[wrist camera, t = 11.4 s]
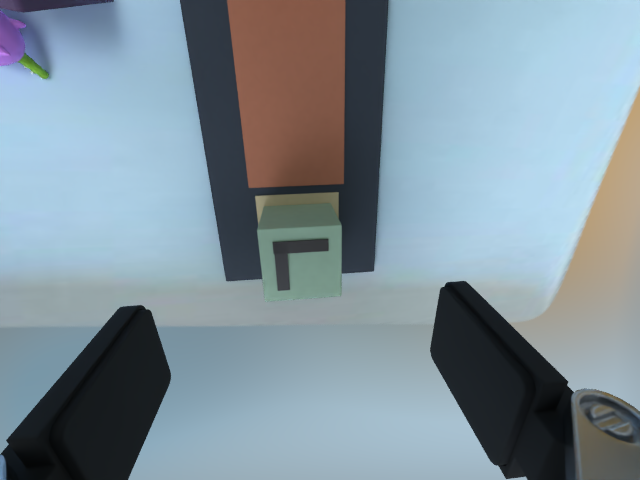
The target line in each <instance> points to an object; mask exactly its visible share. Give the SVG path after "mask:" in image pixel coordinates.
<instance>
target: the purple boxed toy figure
mask: <svg viewBox="0 0 640 480" xmlns="http://www.w3.org/2000/svg"><path fill="white" fill-rule="evenodd" d="M106 2H114V0H0V8H3V9H7V10H12V11H17V12H31V11H40V10H48V9H56V8H64V7H73V6H81V5H89V4H98V3H106ZM25 27H26V24H25V23H23V22H21V21H18V20H14V19H11V18H9V17H7V16H6V15H5V14H4V13H3V12H2V11H1V10H0V66H5V65H10V64H13V63H15V62H19V63H21V64H23V66H24V67H25V69H26V67H27V68H29V69H30V70H31V71H30V72H31V75H32V74H33V73H36V74H38V75H39V76H40V78H41V79H42V80H43V79H47V78H48V77H49V74H48V73H47V72H46V71H45V70H43V69H42V67H41V66H39V65H38V64H37V63H35V62H34V60H33V59H32V58H30V57H29V56H28V55H26V53H25V42H24V39H23V37H22V34H21V33H20V31H19V29H20V28H25Z"/></svg>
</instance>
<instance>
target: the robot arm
mask: <svg viewBox="0 0 640 480" xmlns="http://www.w3.org/2000/svg"><path fill="white" fill-rule="evenodd" d="M430 352H431V356H432V359H433V361H434V363H435V364H436V366H437V368H438V369H439V371H440V373H441V375H442V377H443V378H444V380H445V382H446V384H447V386H448V387H449V389H450V391H451V393H452V394H453V396H454V398H455V399H456V401H457V403H458V405H459V407H460V408H461V410H462V412H463V413H464V415H465V417H466V419H467V421H468V422H469V424H470V426H471V428H472V429H473V431H474V433H475V435H476V436H477V438H478V440H479V442H480V444H481V445H482V447H483V448H484V450H485V452H486V454H487V456H488V458H489V459H490V461H491V462H492V463H493V464H494V465H498V466H499V467H500V469H501V471H502V473H503V474H504V476H505V478H506V479H510V478H518V477H525V476H526V477H527V479H528V480H640V411H638V410H637V409H636V408H635V407H633V406H632V405H630V404H628V403H627V402H625V401H623V400H622V399H620V398H618V397H615V396H613V395H611V394H609V393H606V392H602V391H599V390H595V389H581V390H577V391H576V392H573V391H572V390H571V389H570V388H569V387H568V386H567V384H568V381H567V380H566V379H565V378H564V377H563V376H562V375H561V374H560V373H559V372H558V371H557V370H556V369H555V368H554V367H553V366H552V365H551V364H550V363H549V362H548V361H546V359H545V358H544V357H543V356H542V355H540V353H539V352H537V350H536V349H534V348H533V347H532V346H531V345H530V344H529V343H528V342H527V341H526V340H525V339H524V338H523V337H522V336H521V335H520V334H519V333H518V332H517V331H516V330H515V329H514V328H513V327H512V326H511V325H510V324H509V323H508V322H507V321H506V320H505V319H504V318H503V317H502V316H501V315H500V314H499V313H498V312H497V311H496V310H495V309H494V308H493V307H492V306H491V305H490V304H489V303H488V302H487V301H486V300H485V299H484V298H483V297H482V296H481V295H480V294H479V293H478V292H476V291H475V290H474V289H473V288H472V287H471V286H470V285H469V284H468V283H467V282H466V281H458V282H448V283H446V284H445V287H442V288H441V289H440V294H439V299H438V305H437V311H436V317H435V323H434V329H433V336H432V341H431V348H430ZM170 379H171V373H170V369H169V366H168V363H167V360H166V357H165V354H164V350H163V347H162V344H161V341H160V338H159V335H158V332H157V328H156V325H155V322H154V319H153V316H152V313H151V311H150V310H146V309H145V307H144V306H142V305H138V306H125V307H120V308H119V309H118V310H117V311H116V312H115V313H114V315H113V316H112V317H111V318H110V319H109V320H108V322H107V323H106V324H105V325H104V326H103V328H102V329H101V330H100V331H99V332H98V333H97V335H96V336H95V337H94V338H93V339H92V340H91V342H90V343H89V344H88V345H87V346H86V348H85V349H84V350H83V351H82V352H81V353H80V354H79V356H78V357H77V358H76V359H75V360H74V362H73V363H72V364H71V365H70V366H69V367H68V369H67V370H66V371H65V372H64V373H63V374H62V376H61V377H60V378H59V379H58V380H57V381H56V383H55V384H54V385H53V386H52V387H51V388H50V390H49V391H48V392H47V393H46V394H45V396H44V397H43V398H42V399H41V400H40V401H39V403H38V404H37V405H36V406H35V407H34V408H33V410H32V411H31V412H30V413H29V414H28V415H27V417H26V418H25V419H24V420H23V421H22V423H21V424H20V425H19V426H18V427H17V428H16V430H15V431H14V432H13V433H12V434H11V436H10V437H9V438H8V439H7V440H6V441H7V442H8V443H9V445H8V446H7V447H6V448H5V450H4V451H3V452H2V453H1V454H0V480H128V478H129V476H130V474H131V471H132V469H133V467H134V464H135V462H136V460H137V457H138V455H139V453H140V451H141V448H142V446H143V444H144V441H145V439H146V437H147V435H148V432H149V430H150V428H151V425H152V423H153V421H154V418H155V416H156V414H157V412H158V409H159V407H160V404H161V402H162V400H163V398H164V395H165V393H166V391H167V389H168V386H169V384H170Z"/></svg>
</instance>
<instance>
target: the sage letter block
mask: <svg viewBox="0 0 640 480" xmlns="http://www.w3.org/2000/svg"><path fill="white" fill-rule="evenodd" d="M257 234H258V243H259V252H260V261H261V270H262V279H263V288H264V297H265V302H268V301H281V300H295V299H308V298H322V297H335V296H341V279H342V225H341V223H340V221H339V219H338V217H337V215H336V213H335V211H334V209H333V207H332V205H331V203H322V204H301V205H280V206H264V207H263V211H262V215H261V218H260V222H259V225H258V229H257Z"/></svg>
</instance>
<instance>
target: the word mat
mask: <svg viewBox="0 0 640 480" xmlns="http://www.w3.org/2000/svg"><path fill="white" fill-rule="evenodd" d="M180 4H181V10H182V16H183V22H184V28H185V34H186V40H187V46H188V52H189V58H190V64H191V70H192V76H193V82H194V88H195V94H196V100H197V106H198V112H199V119H200V125H201V131H202V137H203V143H204V149H205V155H206V161H207V167H208V173H209V179H210V185H211V191H212V197H213V203H214V209H215V215H216V221H217V227H218V234H219V240H220V246H221V252H222V258H223V264H224V270H225V276H226V281H238V280H253V279H262V270H261V261H260V252H259V243H258V234H257V229H258V225H259V222H260V218H261V215H262V211H263V207H264V206H280V205H301V204H322V203H331V205H332V207H333V209H334V211H335V213H336V215H337V217H338V219H339V221H340V223H341V225H342V273H355V272H370V271H374V260H375V241H376V223H377V204H378V185H379V167H380V148H381V130H382V111H383V93H384V74H385V55H386V37H387V18H388V0H180Z"/></svg>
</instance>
